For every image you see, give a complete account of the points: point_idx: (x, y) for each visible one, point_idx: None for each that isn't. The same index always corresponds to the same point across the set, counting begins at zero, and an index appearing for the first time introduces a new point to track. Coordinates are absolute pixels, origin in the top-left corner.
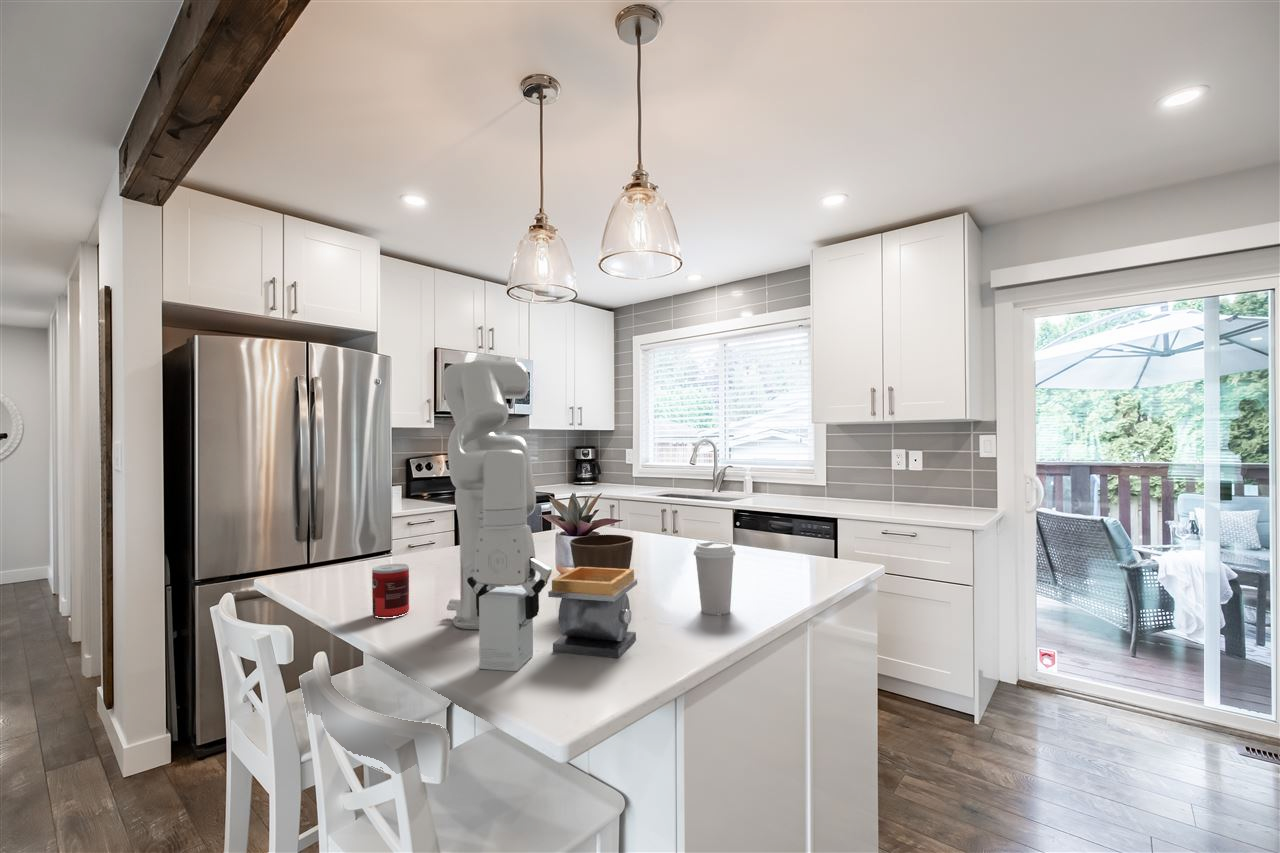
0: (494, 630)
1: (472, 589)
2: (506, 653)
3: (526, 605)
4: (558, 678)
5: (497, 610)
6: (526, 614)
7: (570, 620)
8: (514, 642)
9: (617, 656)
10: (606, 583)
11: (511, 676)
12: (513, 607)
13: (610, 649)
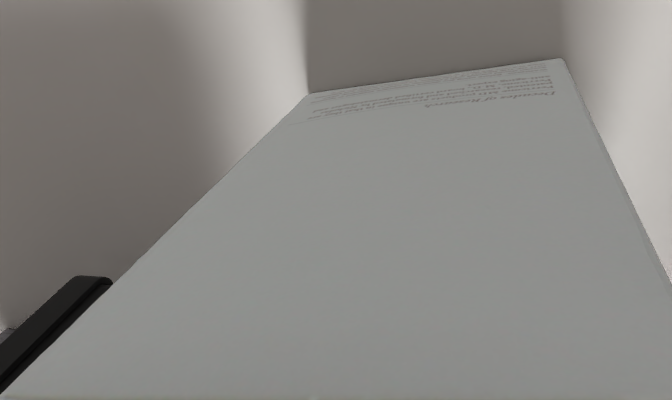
0: (421, 159)
1: None
2: (349, 111)
3: (5, 361)
4: (70, 74)
5: (342, 265)
6: (72, 297)
7: None
8: (269, 149)
9: (5, 333)
10: None
11: (301, 21)
12: (121, 308)
13: None
